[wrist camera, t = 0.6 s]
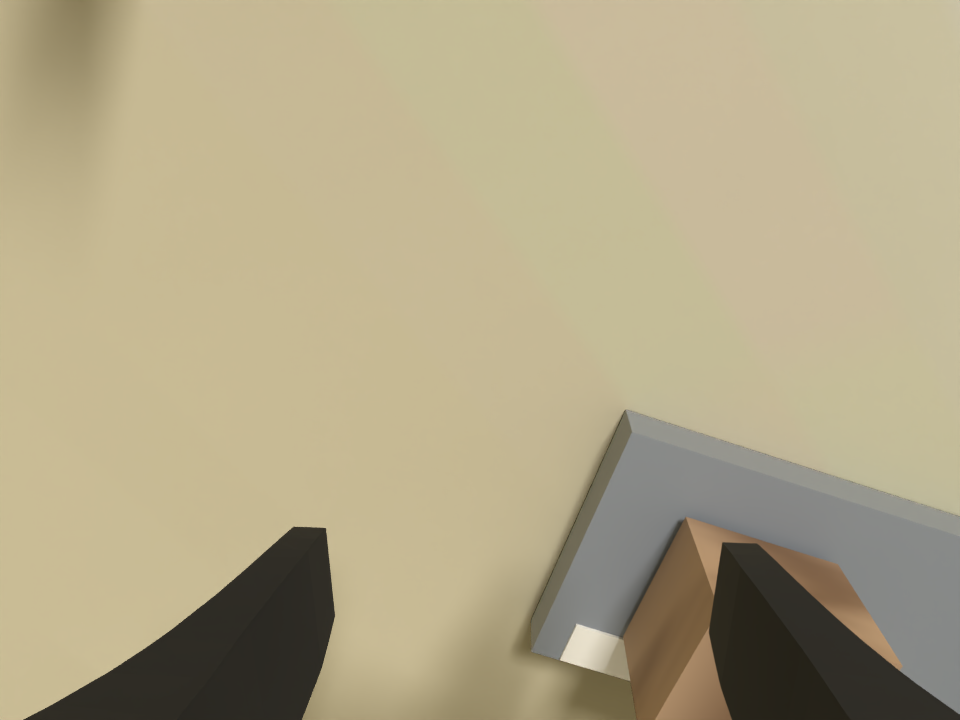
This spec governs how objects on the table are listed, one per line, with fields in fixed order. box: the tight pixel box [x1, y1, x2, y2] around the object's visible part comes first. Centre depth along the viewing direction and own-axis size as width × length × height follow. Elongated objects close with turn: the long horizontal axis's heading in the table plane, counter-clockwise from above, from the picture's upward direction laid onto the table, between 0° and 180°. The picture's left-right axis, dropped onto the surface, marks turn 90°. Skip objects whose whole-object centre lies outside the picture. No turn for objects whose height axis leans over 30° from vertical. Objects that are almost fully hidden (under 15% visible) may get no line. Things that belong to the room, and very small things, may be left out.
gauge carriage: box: [623, 517, 903, 720], centre depth 20 cm, size 5×7×4 cm
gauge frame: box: [531, 410, 960, 714], centre depth 21 cm, size 20×9×6 cm, turn 72°
